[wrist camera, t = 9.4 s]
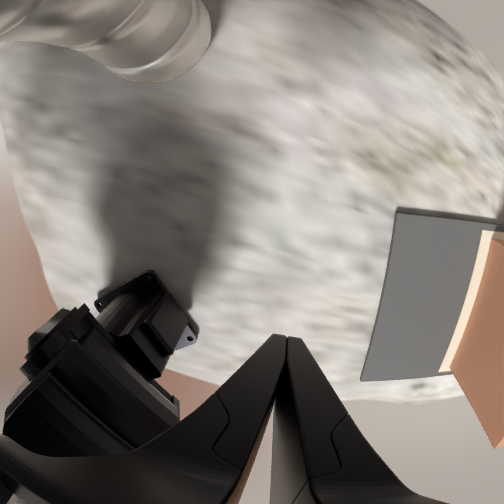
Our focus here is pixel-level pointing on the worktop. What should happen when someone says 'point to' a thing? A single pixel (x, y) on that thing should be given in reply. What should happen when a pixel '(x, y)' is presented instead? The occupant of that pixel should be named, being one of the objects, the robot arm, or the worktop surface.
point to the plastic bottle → (116, 32)
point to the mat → (427, 295)
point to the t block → (485, 349)
